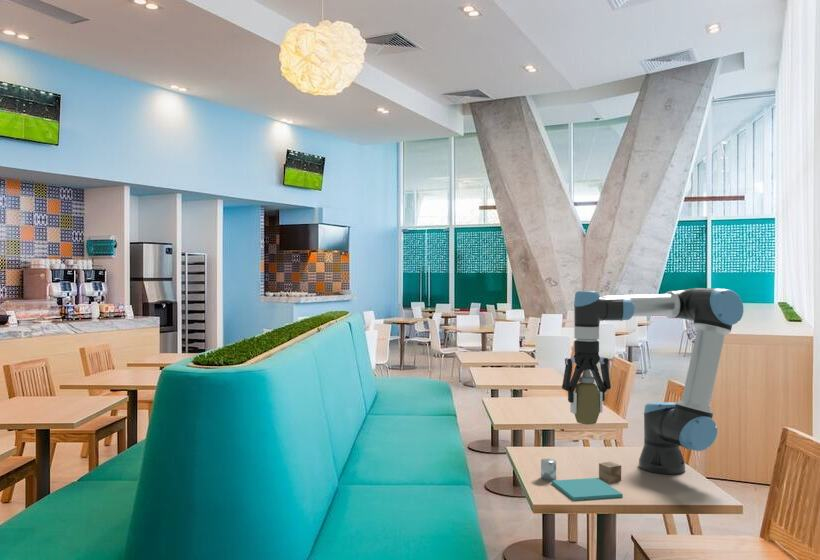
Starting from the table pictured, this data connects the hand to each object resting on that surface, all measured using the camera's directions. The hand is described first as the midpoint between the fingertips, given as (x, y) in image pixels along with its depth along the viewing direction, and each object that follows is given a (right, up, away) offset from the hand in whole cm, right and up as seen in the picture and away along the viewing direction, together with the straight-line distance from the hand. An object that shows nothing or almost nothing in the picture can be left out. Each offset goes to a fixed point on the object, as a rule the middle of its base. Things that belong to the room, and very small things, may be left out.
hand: (586, 412), depth 201 cm
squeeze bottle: (0, -4, 0) cm, 4 cm away
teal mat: (0, -25, 0) cm, 25 cm away
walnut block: (+11, -25, +11) cm, 29 cm away
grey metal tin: (-9, -25, +12) cm, 29 cm away
